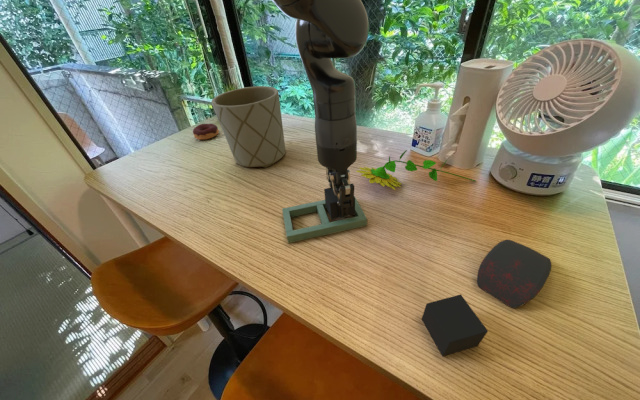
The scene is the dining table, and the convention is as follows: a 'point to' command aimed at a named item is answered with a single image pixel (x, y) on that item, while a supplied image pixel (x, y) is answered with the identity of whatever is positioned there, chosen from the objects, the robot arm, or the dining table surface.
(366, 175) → the flower
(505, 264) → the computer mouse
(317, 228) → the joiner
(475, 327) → the black block
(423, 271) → the dining table surface
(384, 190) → the dining table surface
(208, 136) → the donut
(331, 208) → the black near-cubic block
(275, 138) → the planter
